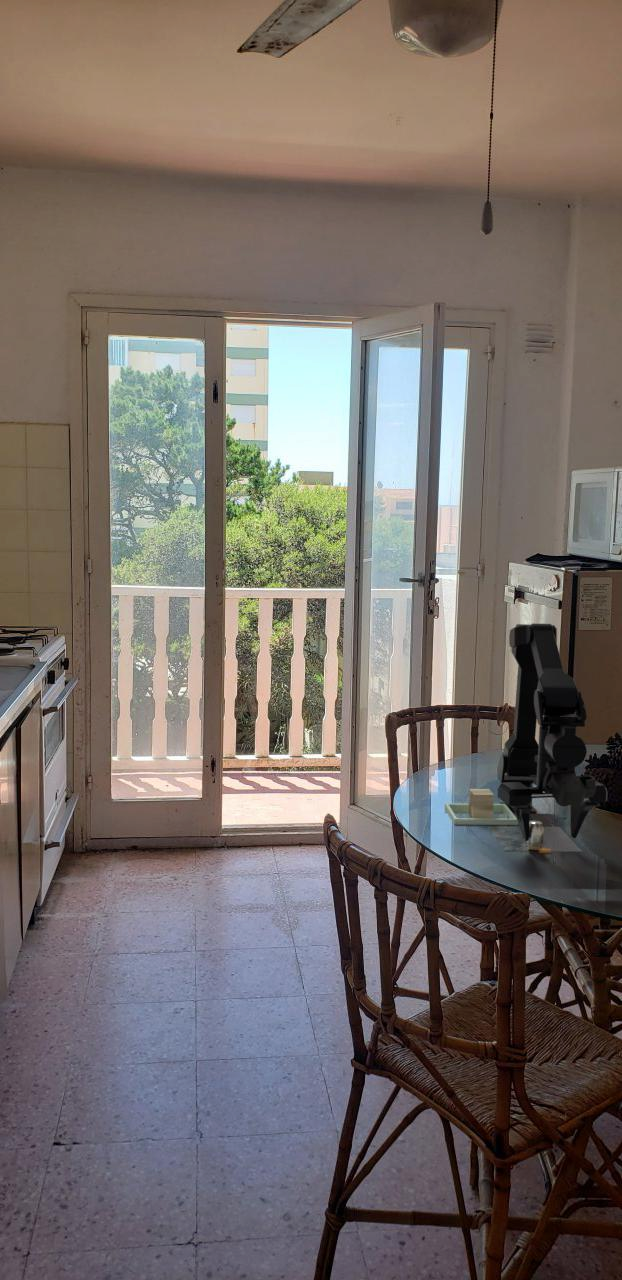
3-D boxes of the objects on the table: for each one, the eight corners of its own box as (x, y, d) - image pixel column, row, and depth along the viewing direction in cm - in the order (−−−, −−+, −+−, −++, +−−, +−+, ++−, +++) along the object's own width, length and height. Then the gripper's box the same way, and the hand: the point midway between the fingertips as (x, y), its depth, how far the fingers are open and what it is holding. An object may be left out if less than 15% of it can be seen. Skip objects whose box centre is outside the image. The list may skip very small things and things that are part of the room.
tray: (444, 815, 201) (445, 803, 201) (504, 815, 202) (505, 803, 201) (454, 831, 191) (454, 819, 191) (517, 832, 191) (518, 819, 191)
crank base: (487, 834, 190) (487, 823, 190) (559, 834, 191) (559, 824, 190) (505, 860, 175) (506, 849, 175) (583, 861, 176) (583, 850, 176)
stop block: (468, 817, 198) (469, 788, 197) (487, 818, 198) (489, 789, 198) (472, 824, 194) (473, 794, 193) (492, 824, 194) (493, 794, 194)
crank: (523, 833, 185) (524, 807, 185) (543, 835, 184) (544, 809, 184) (523, 851, 175) (524, 823, 175) (544, 852, 175) (545, 825, 174)
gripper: (525, 767, 165) (520, 857, 167) (626, 763, 169) (620, 851, 171) (498, 751, 175) (494, 835, 177) (594, 747, 180) (589, 830, 182)
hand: (550, 838), depth 177 cm, fingers open, 9 cm apart
